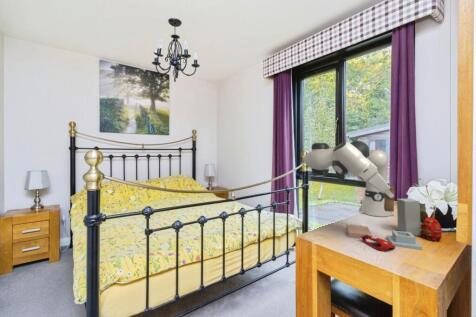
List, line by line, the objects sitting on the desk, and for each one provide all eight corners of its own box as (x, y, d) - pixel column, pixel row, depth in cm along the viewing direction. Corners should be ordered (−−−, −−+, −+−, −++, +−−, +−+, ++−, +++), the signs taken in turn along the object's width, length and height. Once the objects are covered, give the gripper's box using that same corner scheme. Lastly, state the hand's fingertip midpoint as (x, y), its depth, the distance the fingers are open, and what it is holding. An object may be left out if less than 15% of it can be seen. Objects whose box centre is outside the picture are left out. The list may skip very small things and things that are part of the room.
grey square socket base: (386, 237, 106) (386, 228, 106) (413, 240, 103) (413, 231, 103) (392, 246, 97) (392, 236, 97) (422, 249, 94) (422, 239, 93)
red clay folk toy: (416, 236, 108) (417, 203, 108) (427, 235, 110) (428, 202, 110) (434, 242, 101) (435, 207, 101) (446, 241, 103) (447, 206, 103)
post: (384, 209, 104) (384, 186, 104) (392, 210, 103) (393, 186, 103) (385, 211, 102) (386, 187, 101) (393, 211, 100) (394, 187, 100)
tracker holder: (393, 242, 99) (399, 244, 90) (390, 252, 99) (396, 256, 90) (361, 231, 104) (363, 232, 95) (358, 241, 104) (360, 243, 94)
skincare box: (421, 236, 108) (422, 201, 108) (403, 235, 110) (404, 200, 109) (411, 230, 116) (413, 198, 116) (395, 229, 118) (396, 197, 117)
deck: (346, 228, 118) (346, 224, 118) (367, 231, 115) (367, 226, 115) (348, 236, 107) (348, 232, 107) (371, 239, 104) (371, 235, 104)
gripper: (357, 174, 116) (380, 196, 112) (362, 179, 97) (390, 205, 93) (368, 165, 114) (392, 187, 111) (375, 168, 95) (404, 195, 92)
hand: (391, 195), depth 102 cm, fingers closed on post, 3 cm apart
